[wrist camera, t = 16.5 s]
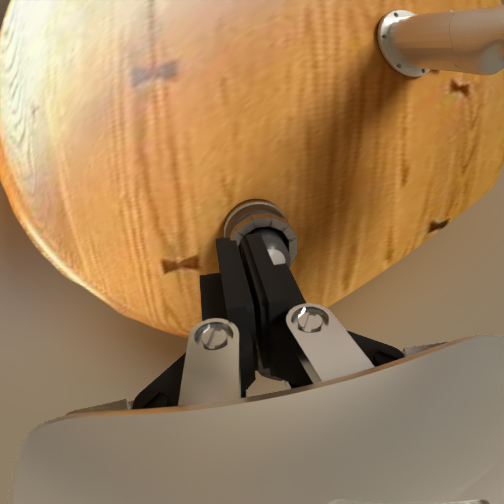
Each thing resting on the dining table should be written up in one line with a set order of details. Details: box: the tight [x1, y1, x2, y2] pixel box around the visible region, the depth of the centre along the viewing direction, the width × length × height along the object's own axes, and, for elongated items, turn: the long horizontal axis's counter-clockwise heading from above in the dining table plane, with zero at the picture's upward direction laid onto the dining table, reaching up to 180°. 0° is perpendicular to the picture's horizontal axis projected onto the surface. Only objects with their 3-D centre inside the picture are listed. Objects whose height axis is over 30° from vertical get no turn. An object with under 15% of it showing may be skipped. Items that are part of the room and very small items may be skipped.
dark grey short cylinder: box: [243, 227, 291, 267], centre depth 43 cm, size 6×6×5 cm
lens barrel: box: [224, 199, 298, 267], centre depth 47 cm, size 10×10×8 cm
